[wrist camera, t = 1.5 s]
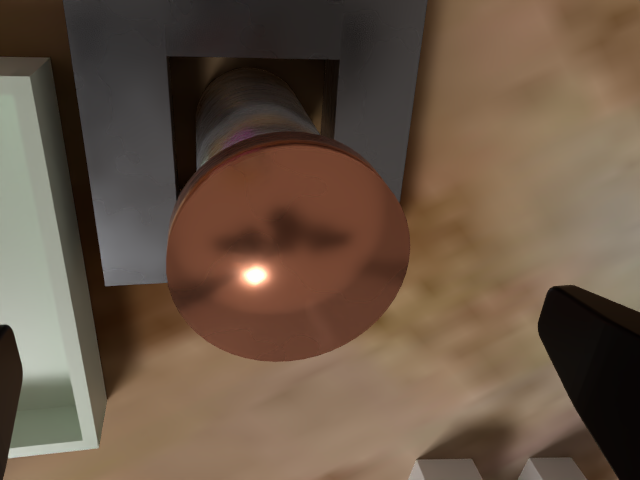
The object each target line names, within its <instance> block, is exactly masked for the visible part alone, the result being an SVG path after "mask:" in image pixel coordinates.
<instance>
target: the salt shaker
mask: <svg viewBox="0 0 640 480" xmlns="http://www.w3.org/2000/svg"><path fill="white" fill-rule="evenodd" d="M196 163H197V171H196V172H195V174H194V175H193V176H192V177H191V178H190V179H189V181H188V182H187V184H186V185H185V187H184V188H183V190H182V191H181V193H180V195H179V197H178V199H177V201H176V203H175V205H174V208H173V212H172V215H171V218H170V224H169V230H168V240H167V254H166V275H167V281H168V287H169V290H170V293H171V296H172V299H173V301H174V303H175V305H176V307H177V309H178V311H179V313H180V314H181V315H182V317H183V318H184V320H185V321H186V322H187V324H188V325H189V326H190V327H191V328H192V329H193V330H194V331H195V332H196V333H197V334H199V335H200V336H201V337H202V338H204V339H205V340H206V341H208V342H209V343H211V344H213V345H214V346H216V347H218V348H220V349H222V350H224V351H226V352H229V353H231V354H234V355H237V356H241V357H244V358H248V359H254V360H259V361H273V362H278V361H293V360H300V359H306V358H310V357H314V356H318V355H321V354H324V353H327V352H329V351H332V350H334V349H336V348H338V347H341V346H343V345H345V344H346V343H348V342H350V341H351V340H353V339H355V338H356V337H358V336H359V335H360V334H362V333H363V332H364V331H366V330H367V329H368V328H369V327H371V326H372V325H373V324H374V323H375V322H376V321H377V320H378V319H379V318H380V317H381V316H382V314H383V313H384V312H385V311H386V310H387V309H388V307H389V306H390V304H391V303H392V301H393V300H394V298H395V297H396V295H397V293H398V291H399V289H400V287H401V285H402V283H403V280H404V277H405V275H406V271H407V267H408V262H409V254H410V236H409V229H408V225H407V220H406V217H405V215H404V212H403V210H402V207H401V205H400V204H399V202H398V200H397V198H396V197H395V195H394V194H393V192H392V191H391V190H390V188H389V187H388V186H387V184H386V183H385V182H384V180H383V179H382V178H381V176H380V175H379V174H378V173H377V171H376V170H375V169H374V168H373V166H372V165H371V164H370V163H369V162H368V161H367V160H366V159H365V158H363V157H362V156H361V155H360V154H359V153H357V152H356V151H354V150H353V149H351V148H350V147H348V146H346V145H344V144H342V143H340V142H338V141H336V140H334V139H331V138H328V137H325V136H322V135H320V134H319V132H318V131H317V129H316V128H315V126H314V124H313V123H312V121H311V120H310V118H309V116H308V115H307V113H306V111H305V110H304V108H303V107H302V105H301V103H300V102H299V100H298V99H297V97H296V95H295V94H294V92H293V90H292V89H291V88H290V87H289V85H288V84H287V83H286V82H284V81H283V80H282V79H281V78H279V77H278V76H276V75H275V74H273V73H271V72H268V71H265V70H262V69H257V68H240V69H235V70H232V71H229V72H227V73H224V74H222V75H221V76H219V77H218V78H216V79H215V80H214V81H213V82H212V83H210V85H209V86H208V87H207V88H206V89H205V91H204V92H203V94H202V96H201V98H200V100H199V103H198V106H197V110H196Z"/></svg>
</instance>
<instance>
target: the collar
mask: <svg viewBox="0 0 640 480" xmlns="http://www.w3.org/2000/svg"><path fill="white" fill-rule="evenodd" d="M63 5H64V12H65V18H66V25H67V32H68V39H69V45H70V52H71V59H72V65H73V72H74V79H75V86H76V92H77V99H78V106H79V113H80V119H81V126H82V133H83V140H84V146H85V153H86V160H87V167H88V173H89V180H90V187H91V193H92V200H93V207H94V214H95V220H96V227H97V234H98V241H99V247H100V254H101V261H102V268H103V274H104V281H105V286H117V285H134V284H152V283H168V281H167V275H166V254H167V240H168V230H169V224H170V218H171V215H172V212H173V208H174V205H175V203H176V201H177V199H178V197H179V195H180V193H181V191H179V189H178V174H177V160H176V145H175V130H174V115H173V100H172V86H171V71H170V56H187V57H235V58H283V59H325V72H324V88H323V105H322V121H321V135H322V136H325V137H328V138H331V139H334V140H336V141H338V142H340V143H342V144H344V145H346V146H348V147H350V148H351V149H353V150H354V151H356V152H357V153H359V154H360V155H361V156H362V157H363V158H365V159H366V160H367V161H368V162H369V163H370V164H371V165H372V166H373V168H374V169H375V170H376V171H377V173H378V174H379V175H380V176H381V178H382V179H383V180H384V182H385V183H386V184H387V186H388V187H389V188H390V190H391V191H392V192H393V194H394V195H395V197H396V198H397V200H398V202H399V203H400V196H401V188H402V181H403V174H404V167H405V159H406V152H407V145H408V138H409V130H410V123H411V116H412V109H413V102H414V94H415V87H416V80H417V73H418V65H419V58H420V51H421V44H422V36H423V29H424V22H425V15H426V7H427V0H63Z"/></svg>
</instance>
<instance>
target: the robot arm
mask: <svg viewBox="0 0 640 480" xmlns="http://www.w3.org/2000/svg"><path fill="white" fill-rule="evenodd" d="M538 333H539V336H540V338H541V341H542V343H543V345H544V347H545V349H546V351H547V353H548V355H549V357H550V359H551V361H552V363H553V365H554V367H555V369H556V371H557V373H558V375H559V377H560V379H561V381H562V383H563V386H564V388H565V390H566V392H567V394H568V396H569V398H570V400H571V401H572V403H573V405H574V407H575V409H576V411H577V412H578V414H579V416H580V417H581V419H582V421H583V422H584V424H585V426H586V427H587V429H588V430H589V432H590V434H591V435H592V437H593V438H594V440H595V442H596V443H597V445H598V447H599V448H600V450H601V451H602V453H603V455H604V456H605V458H606V459H607V461H608V463H609V464H610V466H611V468H612V469H613V471H614V472H615V474H616V476H617V477H618V479H619V480H640V312H638V311H635V310H633V309H630V308H628V307H626V306H623V305H621V304H618V303H616V302H613V301H611V300H609V299H606V298H604V297H601V296H599V295H596V294H594V293H592V292H589V291H587V290H584V289H582V288H579V287H577V286H574V285H564V286H553V287H552V288H550V289H549V290H548V292H547V294H546V298H545V301H544V304H543V308H542V311H541V314H540V318H539V321H538ZM22 381H23V368H22V363H21V359H20V355H19V351H18V347H17V343H16V340H15V336H14V332H13V330H12V328H11V327H10V326H9V325H7V324H1V325H0V480H3V477H4V473H5V468H6V464H7V459H8V454H9V449H10V444H11V439H12V434H13V428H14V423H15V418H16V413H17V408H18V402H19V397H20V392H21V387H22Z"/></svg>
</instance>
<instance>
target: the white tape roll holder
mask: <svg viewBox="0 0 640 480" xmlns="http://www.w3.org/2000/svg"><path fill="white" fill-rule="evenodd" d="M408 480H483V479H482V477H481V475H480V473H479V471H478V469H477V467H476V466H475V464H474V462H473V460H472V459H416V462H415V464H414V466H413V469H412V471H411V474H410V476H409V479H408ZM518 480H587V479H586V477H585V476H584V474H583V473H582V472H581V470H580V469H579V467H578V466H577V465H576V463H575V462H574V461H573V459H572V458H571V457H565V458H529V459H528V461H527V463H526V465H525V466H524V468H523V470H522V472H521V474H520V476H519V478H518Z"/></svg>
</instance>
